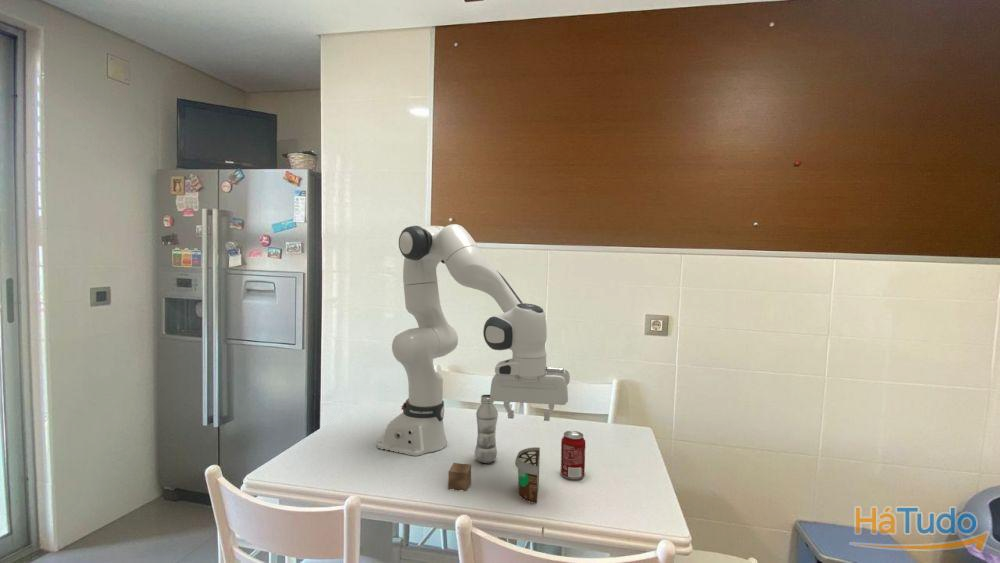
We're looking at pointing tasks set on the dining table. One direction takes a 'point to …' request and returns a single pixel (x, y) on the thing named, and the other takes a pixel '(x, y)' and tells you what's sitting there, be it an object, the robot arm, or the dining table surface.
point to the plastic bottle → (486, 430)
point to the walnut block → (459, 476)
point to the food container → (528, 473)
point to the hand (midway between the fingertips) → (528, 419)
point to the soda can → (573, 455)
